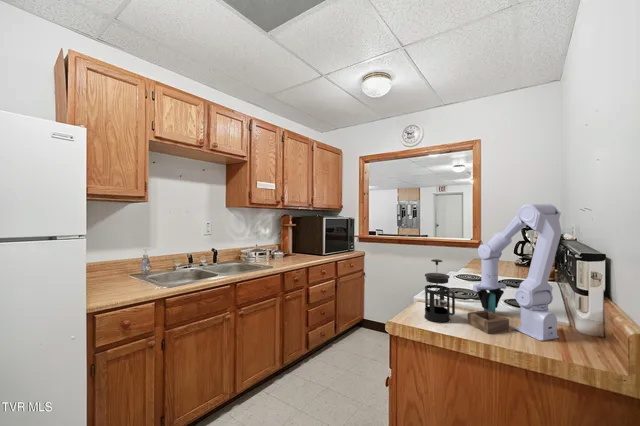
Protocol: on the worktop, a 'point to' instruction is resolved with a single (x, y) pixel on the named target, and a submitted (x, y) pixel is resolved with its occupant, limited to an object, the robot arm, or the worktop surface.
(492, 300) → the peg
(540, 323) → the robot arm
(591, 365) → the worktop surface
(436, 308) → the french press
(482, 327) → the socket block
